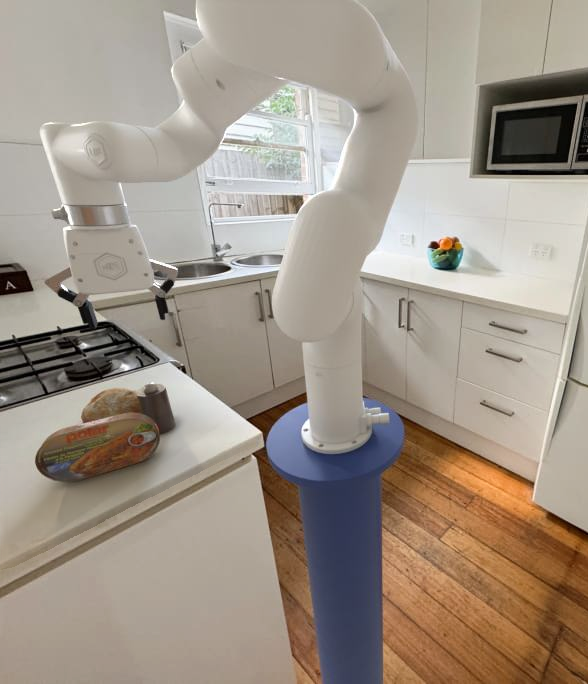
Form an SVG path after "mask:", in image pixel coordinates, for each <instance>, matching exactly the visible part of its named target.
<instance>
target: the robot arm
mask: <svg viewBox="0 0 588 684" xmlns="http://www.w3.org/2000/svg"><path fill="white" fill-rule="evenodd" d="M195 16H196V22H197V26H198V29H199V31H200V33H201V36H202V38H201V39H200V40H199V41H197V42H196V43H195V44H194V45H193V46H191V48H189V49H188V50H187V51H186V52H185V53H183V54H182V55H180V56H179V57H178V58H177V59H176V60H174V62H173V64H172V66H171V77H172V80H173V83H174V86H175V89H176V90H177V92H178V93H179V95H180V97H181V99H182V100H183V101H182V103H181V105H180V106H179V108H178V109H177V110H176V111H175V112H173V114H171V115H170V116H169V117H168V118H167V119H165V120H164V121H162V122H161V123H160V124H158V125H157V126H155V127H150V126H144V125H138V124H130V123H124V122H123V123H122V122H117V121H109V120H108V121H107V120H96V121H89V122H85V123H73V122H72V123H71V122H47V123H43V124H42V125H41V126H40V128H39V136H40V140H41V144H42V146H43V149H44V152H45V156H46V159H47V162H48V165H49V167H50V171H51V174H52V177H53V181H54V183H55V187H56V189H57V193H58V195H59V199H60V202H61V207H60V208H57V209H51V215H52V218H53V220H60V221H64V222H66V223H67V225H68V226H66V227H63V228H62V236H63V242H64V248H65V252H66V258H67V262H68V266H67V267H65V268H63V269H62V270H60V271H58V272H56V273H54V274H52V275H50V276H49V277H47V278H45V280H44V285H46V286H47V287H48V288H49V289H50V290H51V291H53V292H54V293H55V294H56V295H57V296H58V297H59V298H61V299H63V300H65V301H67V302H69V303H70V304H72V305H73V306H75V307H76V308H77V309H78V312H79V315H80V318H81V321H82V324H83V325H88V329H89V330H90V331H92V330H93V331H95V330H96V329H97V328H98V327H97V326H98V324H99V322H98V319H97V316H96V313H95V310H94V307H93V304H92V302H91V301H90V300H88V299H89V297H90V296H93V295H95V296H97V295H107V294H117V293H118V294H119V293H127V292H137V291H144V290H149V291H150V292H151V293H152V294H154V301H155V304H156V308H157V313H158V316H159V320H160V321H166V314H169V313H170V312H169V311H170V310H169V306H168V302H167V299H166V296H167V294H168V293H169V292H170V290H172V288H173V287H174V286H175V283H176V281H177V277H178V274H179V269H178V268H177V267H174V266H171V265H169V264H165V263H163V262H159V261H156V260H153V259H151V258H150V255H149V252H148V249H147V246H146V244H145V241H144V239H143V236H142V234H141V232H140V229H139V228H138V226H137V224H132V221H131V219H130V214H129V210H128V207H127V203H126V199H125V195H124V191H123V188H122V184H138V183H140V184H141V183H168V182H174V181H177V180H179V179H181V178H183V177H185V176H187V175H189V174H190V173H191V172H193V171H194V170H195V169H197V168H199V167H200V166H201V165H203V164H204V163H205V162H207V161H208V160H209V159H211V157H212V156H214V155H215V153H216V152H217V151H218V149H219V148H220V146H221V144H222V142H223V141H224V139H225V137H226V134H227V131H228V129H230V128H231V127H232V126H233V125H235V124H236V123H238V121H240V120H241V119H243V118H244V117H245V116H246V115H248V114H249V113H250V112H252V111H253V110H254V109H256V108H258V107H259V106H260V105H262V104H263V103H264V102H265V101H267V100H268V99H270V98H272V97H273V96H274V95H275V94H277V93H278V92H280V91H281V90H282V89H283V88H285V87H286V86H288V85H289V84H291V83H295V84H298V85H302V86H306V87H308V88H312V89H316V90H319V91H322V92H325V93H328V94H330V95H332V96H334V97H335V98H337V99H338V100H340V101H341V102H343V103H345V104H346V105H348V106H349V107H350V108H351V109H352V110H353V113H354V122H353V127H352V129H351V131H350V133H349V134H348V137H347V139H346V142H345V144H344V147H343V150H342V152H341V155H340V160H339V163H338V165H337V166H338V167H337V169H336V172H335V175H334V177H333V181H332V183H331V185H330V187H329V189H325V190H322V191H319V192H317V193H315V194H313V195H312V196H310V197H309V198H308V199H307V200H306V201H305V202H304V203H303V204H302V206H301V207H300V208H299V210H298V212H297V214H296V216H295V218H294V220H293V222H292V226H291V227H290V232H289V234H288V239H287V241H286V245H285V249H284V252H283V255H282V260H281V261H280V266H279V269H278V272H277V276H276V279H275V283H274V287H273V290H272V296H271V310H272V315H273V318H274V321H275V322H276V325H277V326H278V327H279V329H280V330H281V331H282V333H284V334H285V335H286V336H287V337H289V338H290V339H292V340H294V341H297V342H300V343H301V349H302V357H303V370H304V379H305V390H306V402H307V403H308V411H309V419H308V420H307V421H306V422H305V424H304V425H303V427H302V432H301V434H302V440H303V442H304V444H305V445H306V446H307V447H308V448H310V449H311V450H313V451H316V452H318V453H323V454H341V453H346V452H350V451H353V450H355V449H357V448H359V447H360V446H362V445H363V444H365V443H366V442H367V441H368V439H369V438H370V436H371V434H372V425H375V424H389V413H382V414H381V409H380V408H373V409H368V408H365V406H364V401H363V398H364V397H363V396H364V395H363V394H364V393H363V391H364V390H363V362H362V361H363V359H362V358H363V357H362V354H363V350H362V348H363V347H362V325H363V324H362V321H363V307H364V288H363V282H362V280H361V276H360V274H361V271H362V268H363V266H364V263H365V261H366V259H367V257H368V256H369V255H370V254H372V252H374V250H375V249H377V246H378V245H379V244H380V242H381V240H382V236H383V234H384V230H385V227H386V224H387V221H388V218H389V215H390V213H391V210H392V207H393V205H394V203H395V200H396V197H397V194H398V192H399V190H400V186H401V183H402V181H403V178H404V175H405V171H406V169H407V166H408V165H409V164H408V163H409V161H410V159H411V156H412V152H413V149H414V146H415V143H416V139H417V134H418V126H419V107H418V100H417V95H416V92H415V88H414V85H413V84H412V80H411V79H410V77H409V75H408V73H407V71H406V69H405V68H404V66H403V65H402V63H401V61H400V60H399V58H398V56H397V54H396V53H395V51H394V50H393V48H392V46H391V44H390V42H389V40H388V39H387V37H386V35H385V33H384V31H383V29H382V28H381V25H380V24H379V22H378V20H377V19H376V17H375V16H374V15H373V14H372V13H371V12H370V10H369V9H368V8H367V7H366V6H365V5H363V4H362V3H360V2H359V1H358V0H195ZM154 271H157V272H161V273H165V274H166V275H167V276H166V279H165V280H164V281H163V282H162V283H161V284H160V283H158V282H157V281H156V280H155V272H154ZM71 277H72V281H73V283H74V287H75V288H76V290H77V292H78V293H77V292H75V291H73V290H71V289H69V288H67V287H66V286H65V285H64V284H63V283H62V282H64V281H66V280H67V279H69V278H71Z"/></svg>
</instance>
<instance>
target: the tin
mask: <svg viewBox="0 0 588 684" xmlns="http://www.w3.org/2000/svg"><path fill="white" fill-rule="evenodd" d="M160 440H161V434H159V429H158V426H157V424H156V423H155V421H154V420H153V419H151V418H150V417H148V416H146V415H143V414H140V413H124V414H120V415H116V416H111V417H107V418H103V419H99V420H95V421H91V422H87V423H83V422H82V423H79V424H75V425H70V426H67V427H63V428H61V429H58V430H56V431H54V432H53V433H51V434H50V435H48V436H47V438H46V439H45V440H43V442H42V444H41V446H40V447H39V448H38V450H37V452H36V455H35V456H34V464H35V467H36V469H37V470H38V472H39V473H40V474H41V475H42V476H44V477H45V478H46V479H49V480H51V481H54V482H55V481H56V482H61V483H72V482H79V481H82V480H87V479H89V478H93V477H96V476H99V475H103V474H106V473H109V472H113V471H116V470H119V469H123V468H126V467H130V466H132V465H136V464H140V463H141V462H144V461H145V460H147V459H148V458H150V457H151V456H152V455H153V454H154V453H155V452H156V450H157V449H158V447H159V445H160V442H161V441H160Z"/></svg>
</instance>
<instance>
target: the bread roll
mask: <svg viewBox="0 0 588 684" xmlns="http://www.w3.org/2000/svg"><path fill="white" fill-rule="evenodd" d="M137 391H138V390H133V389H129V388H125V387H113V388H108V389H105V390H102V391H100V392H99V393H97V394H96V395H95V396H93V397H92V398H91V399H90V401H89V402H88V403H87V404H86V405H85V406H84V408H83V409H82V411H81V416H80V418H81V421H82V424H83V423H87V422H91V421H95V420H99V419H103V418H107V417H111V416H116V415H120V414H124V413H140V414H142V411H141V408H140V405H139V402H138V399H137V395H136V392H137Z"/></svg>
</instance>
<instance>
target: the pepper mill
mask: <svg viewBox="0 0 588 684" xmlns="http://www.w3.org/2000/svg"><path fill="white" fill-rule="evenodd" d="M167 390H168V389H167V386H166V385H164V384H162V383H154V382H148V383H146V384H144V386H142V387H141V388H139V389H138V390H136V391H137V392H136V395H137V399H138V402H139V405H140V408H141V411H142V414H143V415H146V416H148V417H150V418H151V419H153V420H154V421H155V423H156V424H157V426H158V429H159V435H162V434H165V433H167V432H169V431H171V430H173V429H174V428H175V426H176V421H175V417H174V413H173V409H172V406H171V401H170V398H169V394H168V391H167Z"/></svg>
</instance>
